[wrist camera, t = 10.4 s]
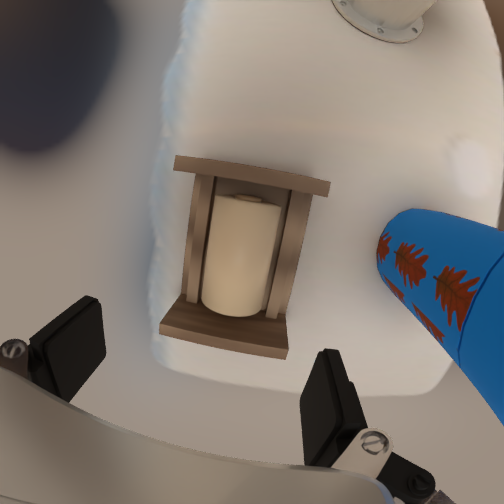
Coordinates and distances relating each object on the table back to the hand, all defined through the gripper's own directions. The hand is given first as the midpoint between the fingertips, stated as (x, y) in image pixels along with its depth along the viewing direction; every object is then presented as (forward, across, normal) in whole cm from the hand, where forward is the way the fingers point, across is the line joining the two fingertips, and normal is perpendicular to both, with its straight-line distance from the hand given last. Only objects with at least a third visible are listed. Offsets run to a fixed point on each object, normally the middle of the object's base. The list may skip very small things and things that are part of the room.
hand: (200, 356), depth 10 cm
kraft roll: (+19, 0, 0) cm, 19 cm away
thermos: (+20, -20, -3) cm, 28 cm away
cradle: (+20, 0, 0) cm, 20 cm away
